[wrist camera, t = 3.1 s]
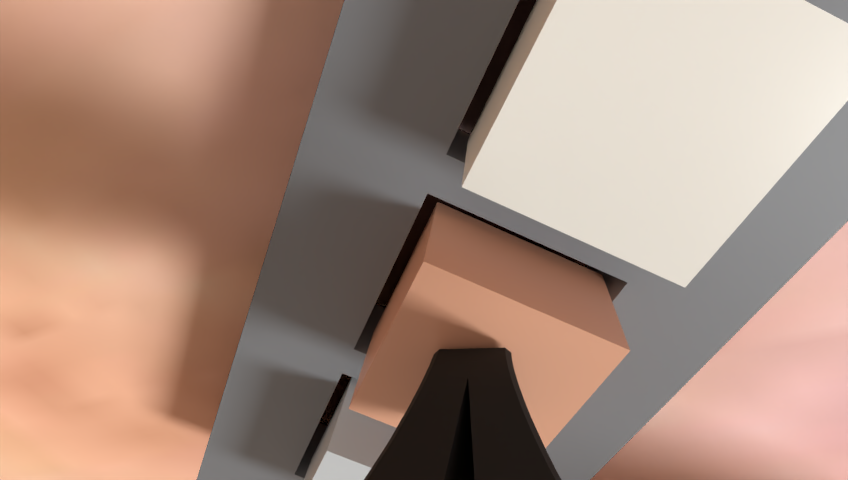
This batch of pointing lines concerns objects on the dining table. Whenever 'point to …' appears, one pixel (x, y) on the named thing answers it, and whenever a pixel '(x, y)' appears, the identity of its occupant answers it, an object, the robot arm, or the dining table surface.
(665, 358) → the key board
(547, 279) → the terracotta key
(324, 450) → the grey key
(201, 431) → the dining table surface
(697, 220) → the cream key
